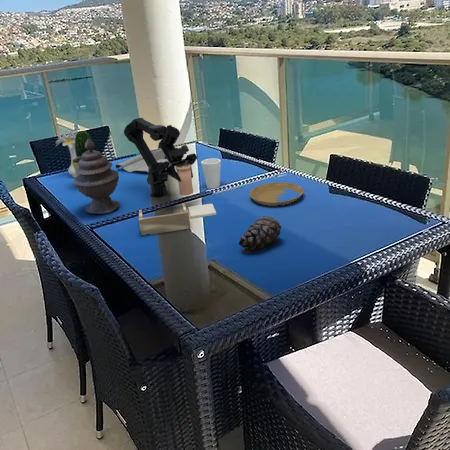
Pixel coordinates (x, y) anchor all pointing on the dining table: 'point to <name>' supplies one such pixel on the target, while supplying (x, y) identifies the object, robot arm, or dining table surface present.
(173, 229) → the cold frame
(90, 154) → the decorative urn
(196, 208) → the stone tile
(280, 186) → the plant saucer
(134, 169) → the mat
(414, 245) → the dining table surface
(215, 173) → the foam cup
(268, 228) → the pine cone
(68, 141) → the flower vase
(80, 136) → the potted cactus
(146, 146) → the robot arm
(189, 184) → the terracotta pot
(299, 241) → the dining table surface
